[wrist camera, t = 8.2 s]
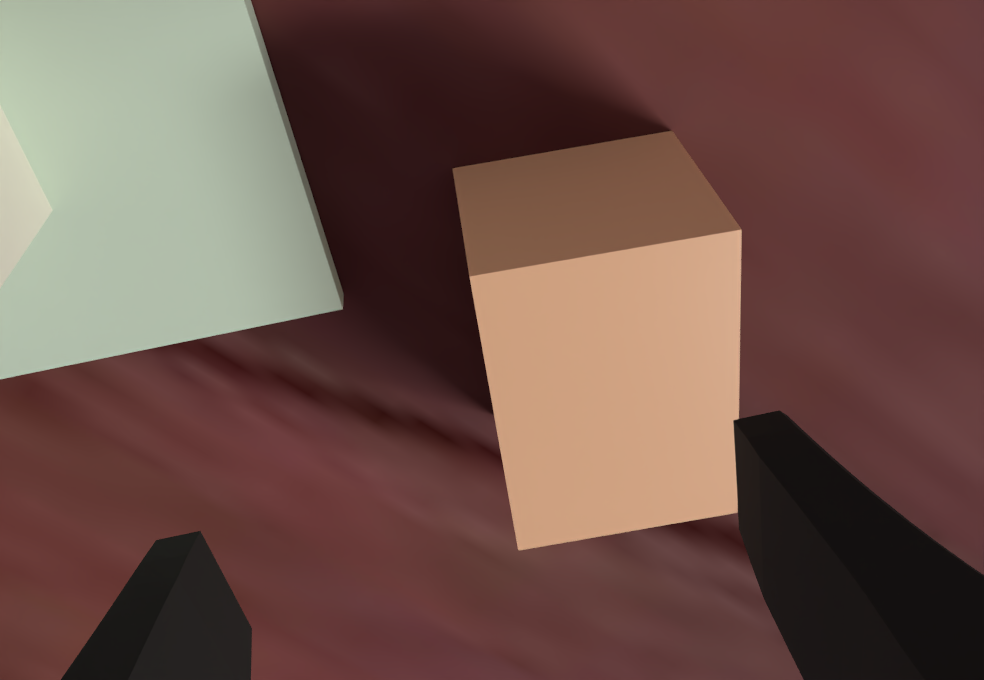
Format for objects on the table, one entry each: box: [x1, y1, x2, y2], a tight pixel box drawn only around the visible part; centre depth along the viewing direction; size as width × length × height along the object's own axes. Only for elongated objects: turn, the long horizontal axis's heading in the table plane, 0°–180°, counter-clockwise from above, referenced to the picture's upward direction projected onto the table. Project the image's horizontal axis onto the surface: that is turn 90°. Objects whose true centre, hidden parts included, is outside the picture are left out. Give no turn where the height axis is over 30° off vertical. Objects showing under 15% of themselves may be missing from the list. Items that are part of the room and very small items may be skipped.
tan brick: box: [452, 131, 741, 551], centre depth 19 cm, size 4×6×4 cm
